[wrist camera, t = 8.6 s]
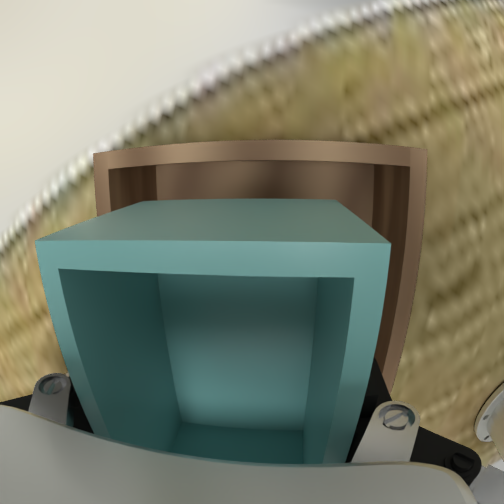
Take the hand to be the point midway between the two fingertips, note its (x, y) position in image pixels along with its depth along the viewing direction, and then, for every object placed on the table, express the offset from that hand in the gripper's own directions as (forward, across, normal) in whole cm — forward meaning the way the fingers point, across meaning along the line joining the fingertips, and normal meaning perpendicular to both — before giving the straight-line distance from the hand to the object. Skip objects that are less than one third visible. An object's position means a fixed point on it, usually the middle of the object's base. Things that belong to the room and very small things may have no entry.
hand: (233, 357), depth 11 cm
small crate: (+1, 0, 0) cm, 1 cm away
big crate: (+14, 0, 0) cm, 14 cm away
